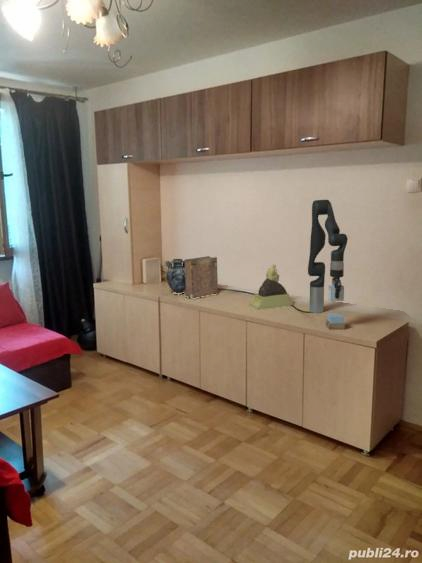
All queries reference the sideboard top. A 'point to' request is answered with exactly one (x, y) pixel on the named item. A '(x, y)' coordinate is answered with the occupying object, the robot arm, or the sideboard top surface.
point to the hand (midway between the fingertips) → (336, 297)
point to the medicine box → (332, 293)
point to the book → (201, 276)
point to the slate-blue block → (335, 318)
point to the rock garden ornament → (271, 292)
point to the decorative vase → (176, 275)
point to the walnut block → (335, 326)
